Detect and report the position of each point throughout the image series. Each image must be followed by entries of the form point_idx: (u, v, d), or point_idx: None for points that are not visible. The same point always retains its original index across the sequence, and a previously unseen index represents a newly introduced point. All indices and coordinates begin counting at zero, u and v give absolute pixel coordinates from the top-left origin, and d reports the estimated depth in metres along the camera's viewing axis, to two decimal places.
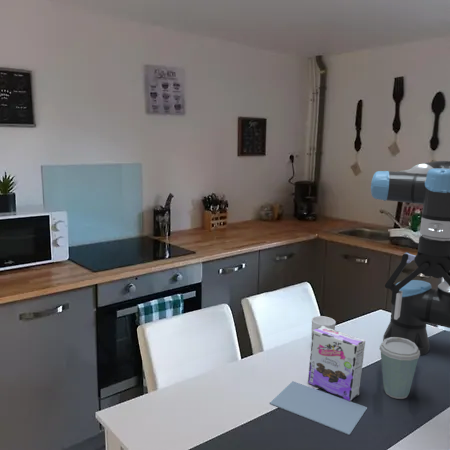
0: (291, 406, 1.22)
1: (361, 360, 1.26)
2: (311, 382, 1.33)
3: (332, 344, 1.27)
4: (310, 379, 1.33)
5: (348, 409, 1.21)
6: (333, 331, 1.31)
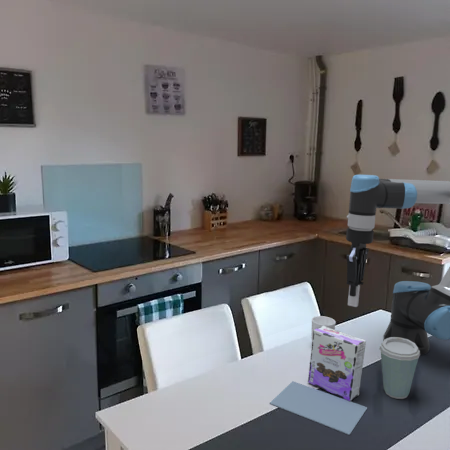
0: (291, 406, 1.22)
1: (361, 360, 1.26)
2: (311, 382, 1.33)
3: (333, 344, 1.27)
4: (310, 379, 1.33)
5: (348, 409, 1.21)
6: (334, 331, 1.31)
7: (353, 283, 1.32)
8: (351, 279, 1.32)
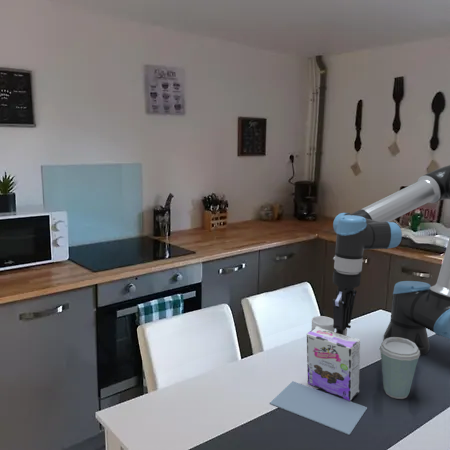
0: (291, 406, 1.22)
1: (357, 359, 1.25)
2: (311, 383, 1.33)
3: (327, 347, 1.26)
4: (309, 380, 1.33)
5: (348, 409, 1.21)
6: (327, 332, 1.29)
7: (340, 328, 1.28)
8: (337, 324, 1.28)
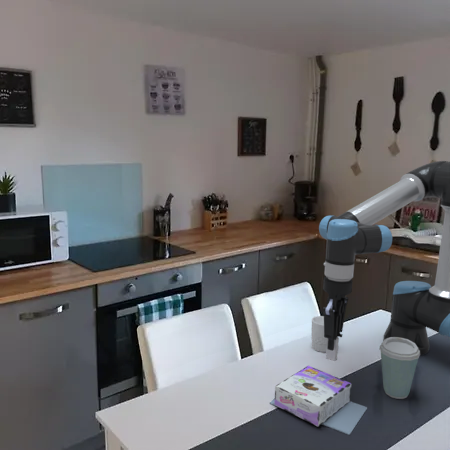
0: None
1: (331, 402, 1.16)
2: None
3: None
4: None
5: (348, 409, 1.21)
6: (288, 399, 1.18)
7: (331, 337, 1.22)
8: (328, 333, 1.22)
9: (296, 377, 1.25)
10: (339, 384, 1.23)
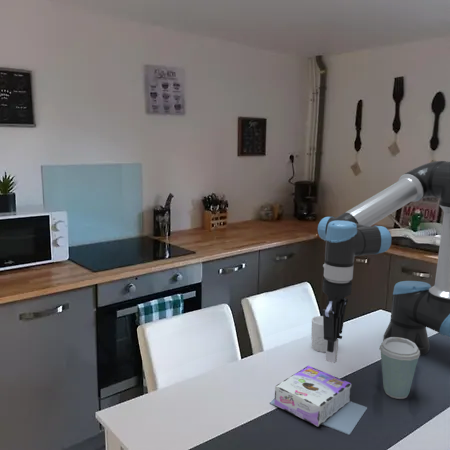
0: None
1: (331, 402, 1.16)
2: None
3: None
4: None
5: (348, 409, 1.21)
6: (288, 399, 1.18)
7: (330, 339, 1.22)
8: (328, 335, 1.21)
9: (296, 377, 1.25)
10: (339, 384, 1.23)
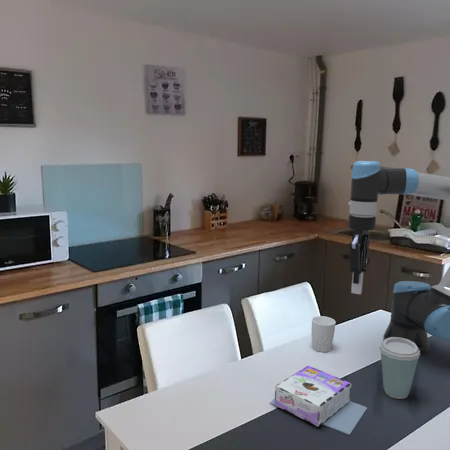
0: None
1: (331, 402, 1.16)
2: None
3: None
4: None
5: (348, 409, 1.21)
6: (288, 399, 1.18)
7: (356, 270, 1.32)
8: (354, 266, 1.32)
9: (296, 377, 1.25)
10: (339, 384, 1.23)
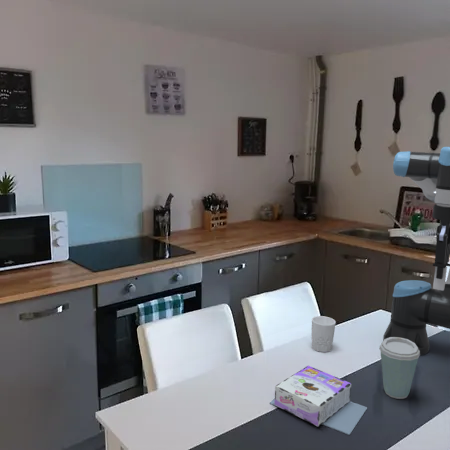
0: None
1: (331, 402, 1.16)
2: None
3: None
4: None
5: (348, 409, 1.21)
6: (288, 399, 1.18)
7: (442, 264, 1.23)
8: (440, 260, 1.22)
9: (296, 377, 1.25)
10: (339, 384, 1.23)
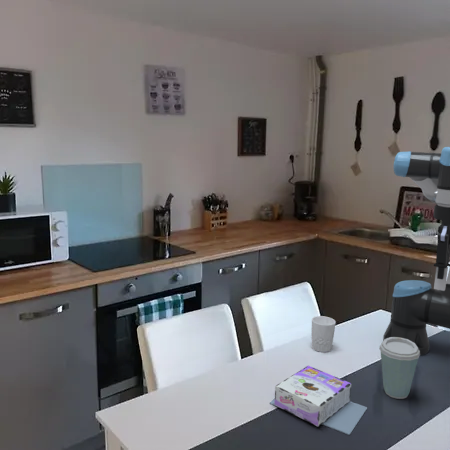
0: None
1: (331, 402, 1.16)
2: None
3: None
4: None
5: (348, 409, 1.21)
6: (288, 399, 1.18)
7: (443, 264, 1.23)
8: (441, 260, 1.22)
9: (296, 377, 1.25)
10: (339, 384, 1.23)
